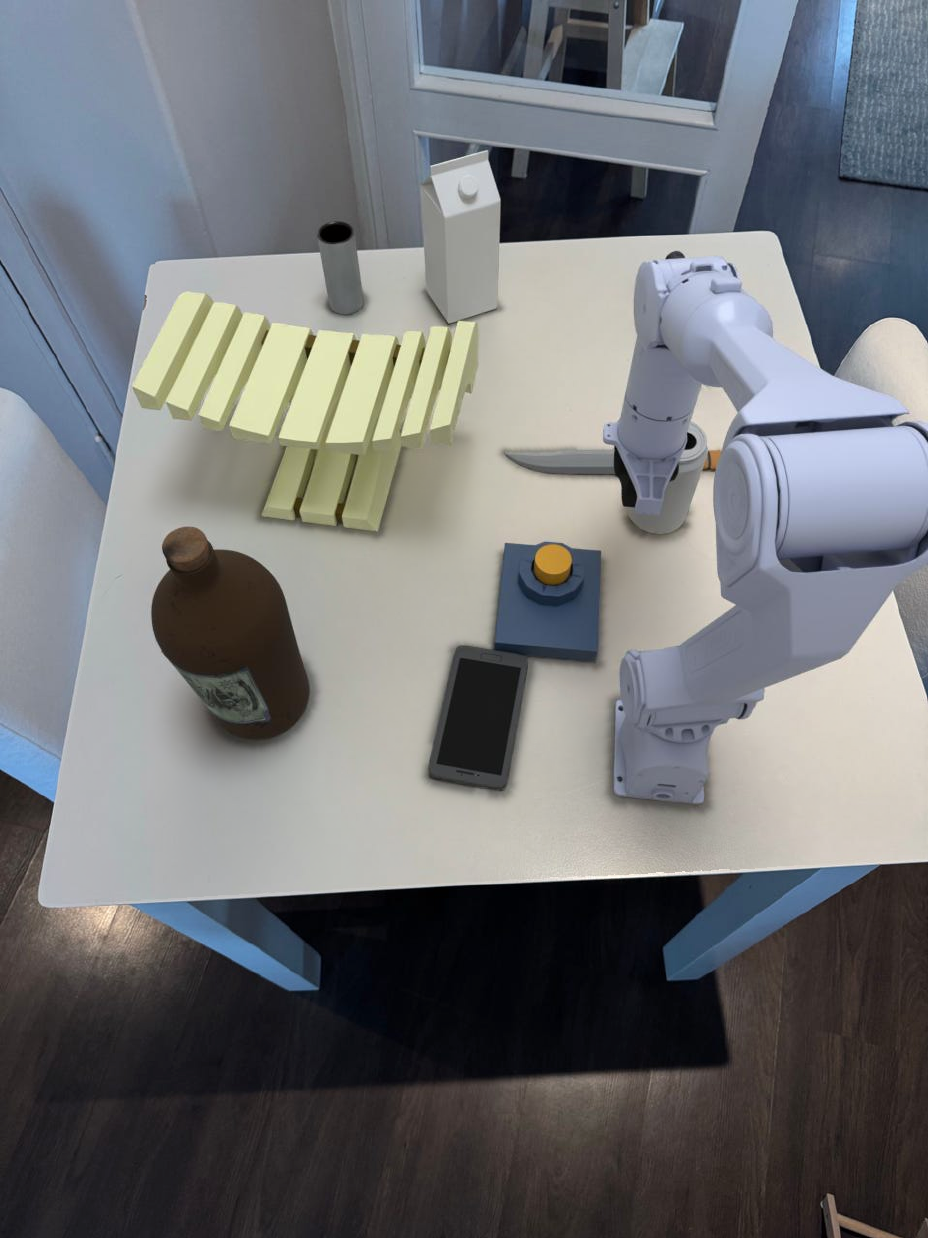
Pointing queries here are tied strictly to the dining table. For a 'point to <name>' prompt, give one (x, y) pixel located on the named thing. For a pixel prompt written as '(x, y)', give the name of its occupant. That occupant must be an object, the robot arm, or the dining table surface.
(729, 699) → the robot arm
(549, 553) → the trigger button
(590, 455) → the knife
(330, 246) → the gray cylinder
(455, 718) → the cell phone
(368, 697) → the dining table surface
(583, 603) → the button housing
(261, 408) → the slatted curved stool
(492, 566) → the dining table surface
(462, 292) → the milk carton
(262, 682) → the brown bottle
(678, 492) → the beverage can
